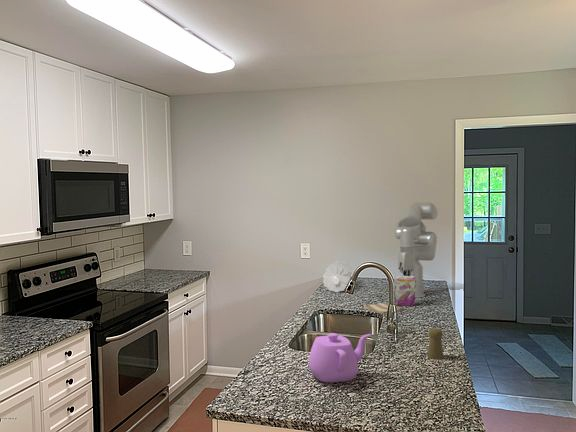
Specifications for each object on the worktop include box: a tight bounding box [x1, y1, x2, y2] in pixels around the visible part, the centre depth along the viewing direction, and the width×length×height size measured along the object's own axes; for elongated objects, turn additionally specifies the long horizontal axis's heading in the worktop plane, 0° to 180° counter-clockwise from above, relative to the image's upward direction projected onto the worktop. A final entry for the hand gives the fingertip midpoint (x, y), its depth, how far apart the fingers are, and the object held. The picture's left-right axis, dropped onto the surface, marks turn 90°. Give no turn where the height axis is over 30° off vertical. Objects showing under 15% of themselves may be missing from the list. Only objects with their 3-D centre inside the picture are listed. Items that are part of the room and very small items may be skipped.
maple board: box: [363, 302, 404, 315], centre depth 262 cm, size 15×15×1 cm
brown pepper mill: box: [427, 328, 444, 360], centre depth 188 cm, size 6×6×11 cm
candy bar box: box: [393, 275, 416, 307], centre depth 269 cm, size 11×5×16 cm, turn 84°
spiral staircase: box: [322, 260, 353, 293], centre depth 314 cm, size 18×18×25 cm
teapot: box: [308, 332, 372, 383], centre depth 169 cm, size 23×21×15 cm
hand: (406, 282), depth 272 cm, fingers closed
